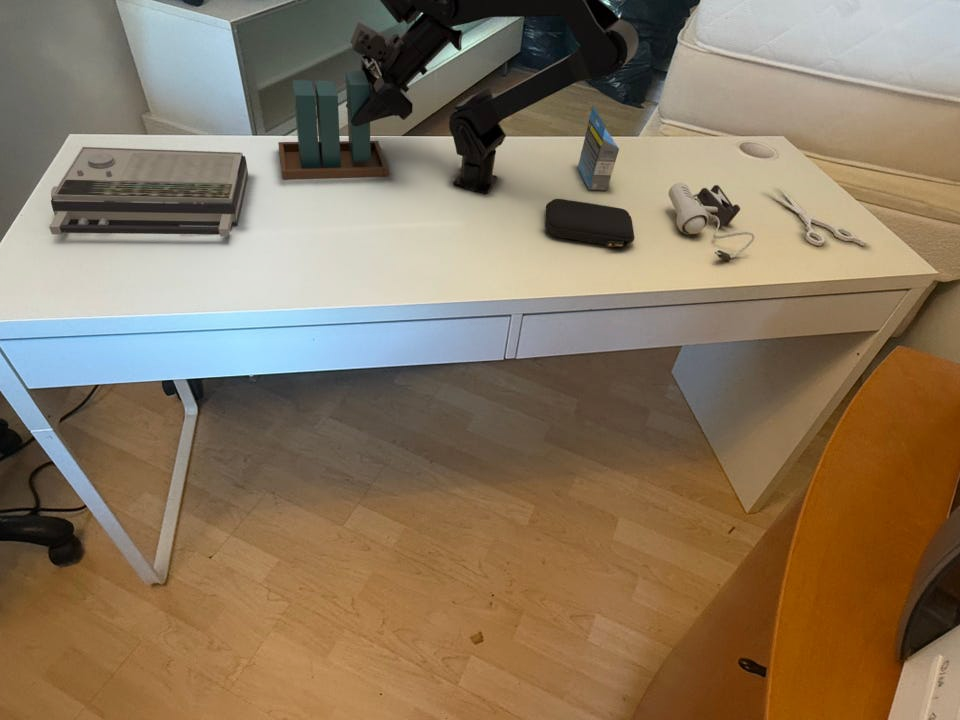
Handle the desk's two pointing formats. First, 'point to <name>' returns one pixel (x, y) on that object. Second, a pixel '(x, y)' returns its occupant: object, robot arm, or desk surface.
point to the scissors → (809, 219)
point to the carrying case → (589, 222)
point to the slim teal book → (355, 98)
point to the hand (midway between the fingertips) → (350, 116)
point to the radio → (150, 192)
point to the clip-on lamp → (704, 212)
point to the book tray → (347, 170)
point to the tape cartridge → (597, 154)
